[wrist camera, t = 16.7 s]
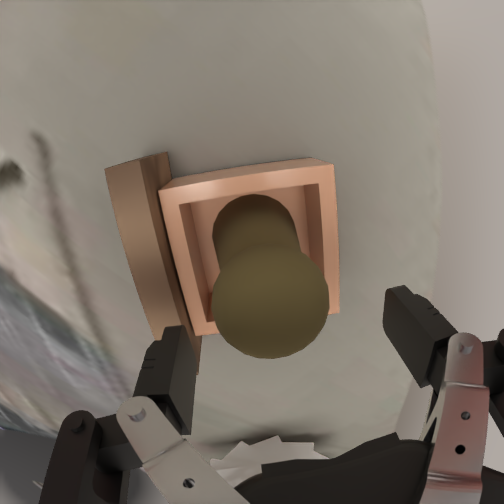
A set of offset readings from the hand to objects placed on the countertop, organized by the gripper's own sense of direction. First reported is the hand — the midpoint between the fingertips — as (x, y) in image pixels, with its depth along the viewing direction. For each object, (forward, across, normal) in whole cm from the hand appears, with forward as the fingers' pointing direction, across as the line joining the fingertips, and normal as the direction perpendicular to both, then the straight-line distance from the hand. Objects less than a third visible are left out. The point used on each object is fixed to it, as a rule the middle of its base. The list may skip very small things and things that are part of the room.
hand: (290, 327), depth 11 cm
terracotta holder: (+12, +1, 0) cm, 12 cm away
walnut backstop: (+12, +7, 0) cm, 14 cm away
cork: (+12, +1, 0) cm, 12 cm away
